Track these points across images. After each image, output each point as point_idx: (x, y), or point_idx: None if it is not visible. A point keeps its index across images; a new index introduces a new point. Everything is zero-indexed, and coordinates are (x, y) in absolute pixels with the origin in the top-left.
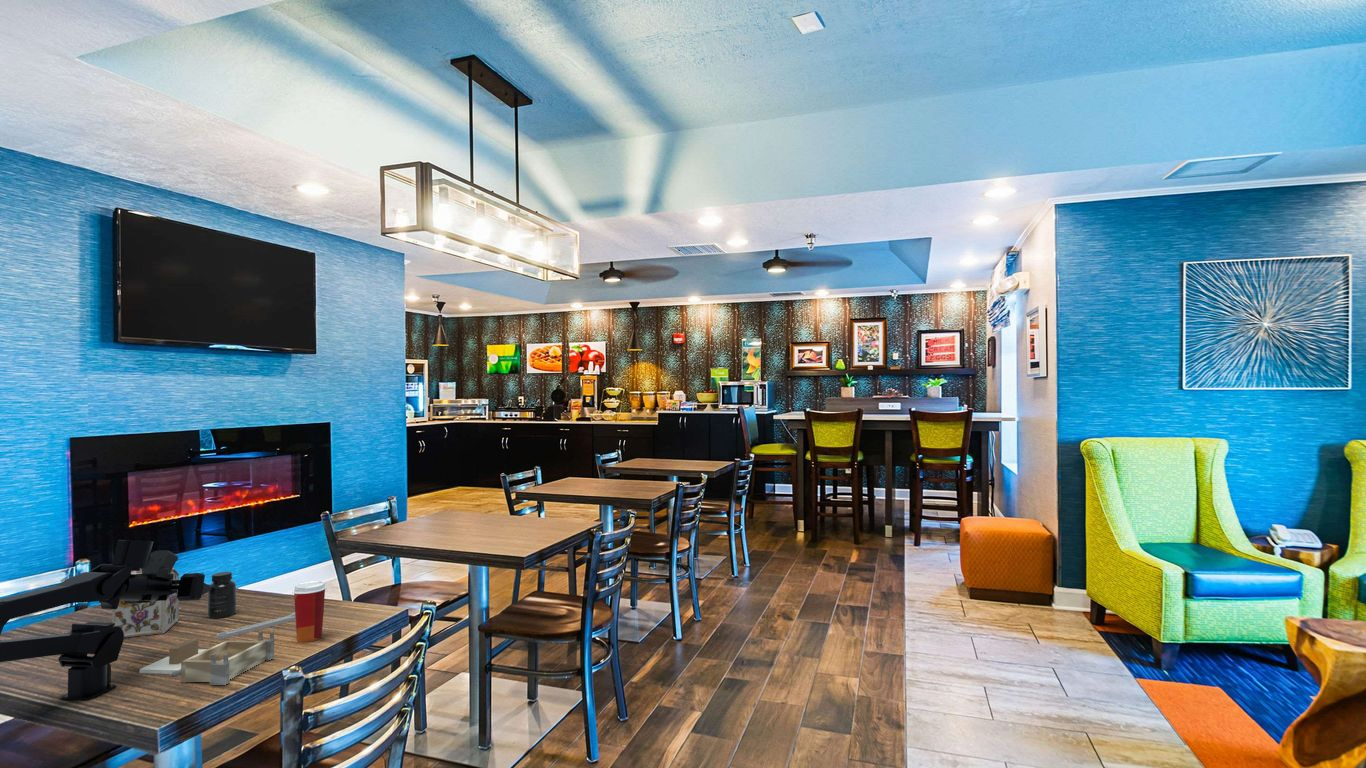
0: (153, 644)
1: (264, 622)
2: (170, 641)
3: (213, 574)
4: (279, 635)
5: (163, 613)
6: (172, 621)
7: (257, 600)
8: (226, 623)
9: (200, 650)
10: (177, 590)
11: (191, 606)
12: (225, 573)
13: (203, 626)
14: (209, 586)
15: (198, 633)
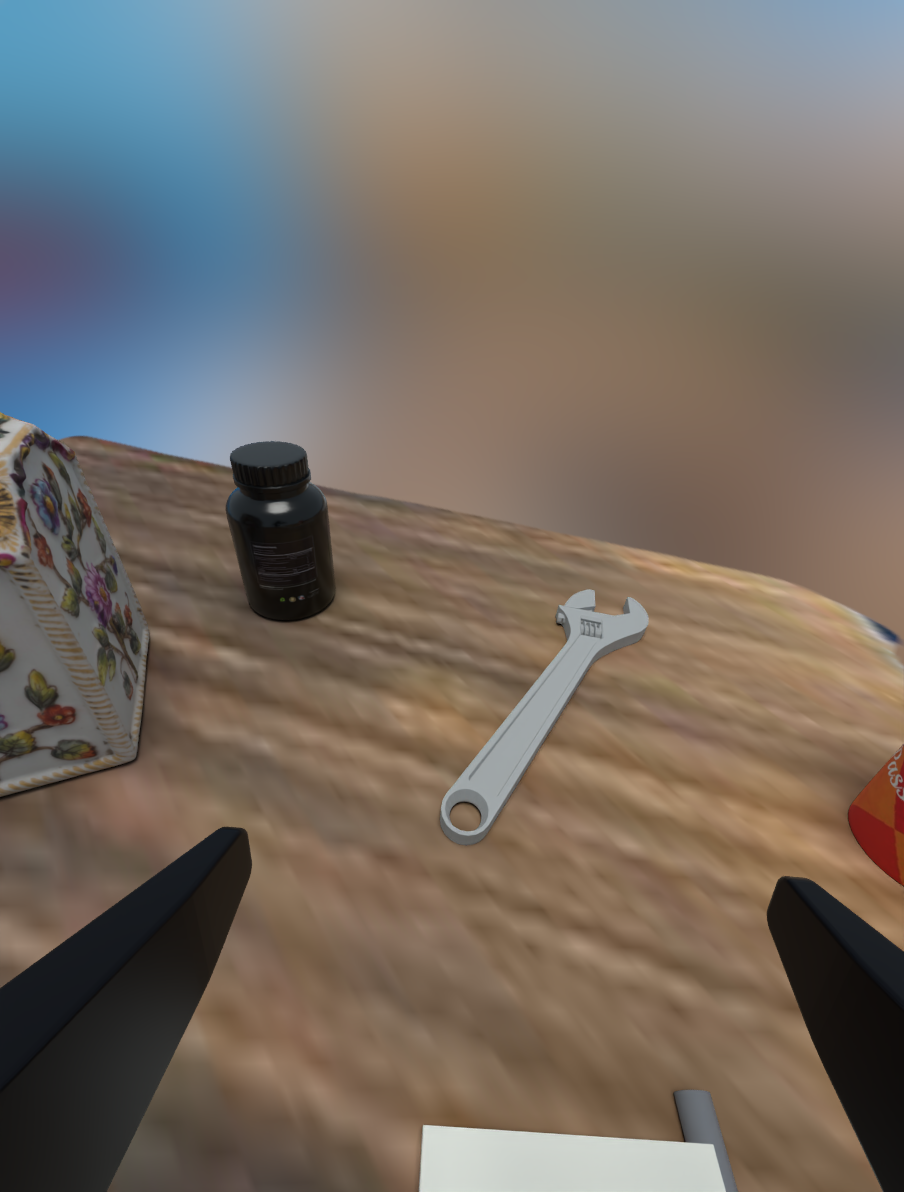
0: None
1: (542, 683)
2: None
3: (234, 455)
4: (714, 797)
5: (93, 698)
6: (137, 664)
7: (335, 517)
8: (360, 662)
9: (574, 1170)
10: (248, 852)
11: (149, 536)
12: (283, 452)
13: (283, 686)
14: (854, 927)
15: (307, 762)
